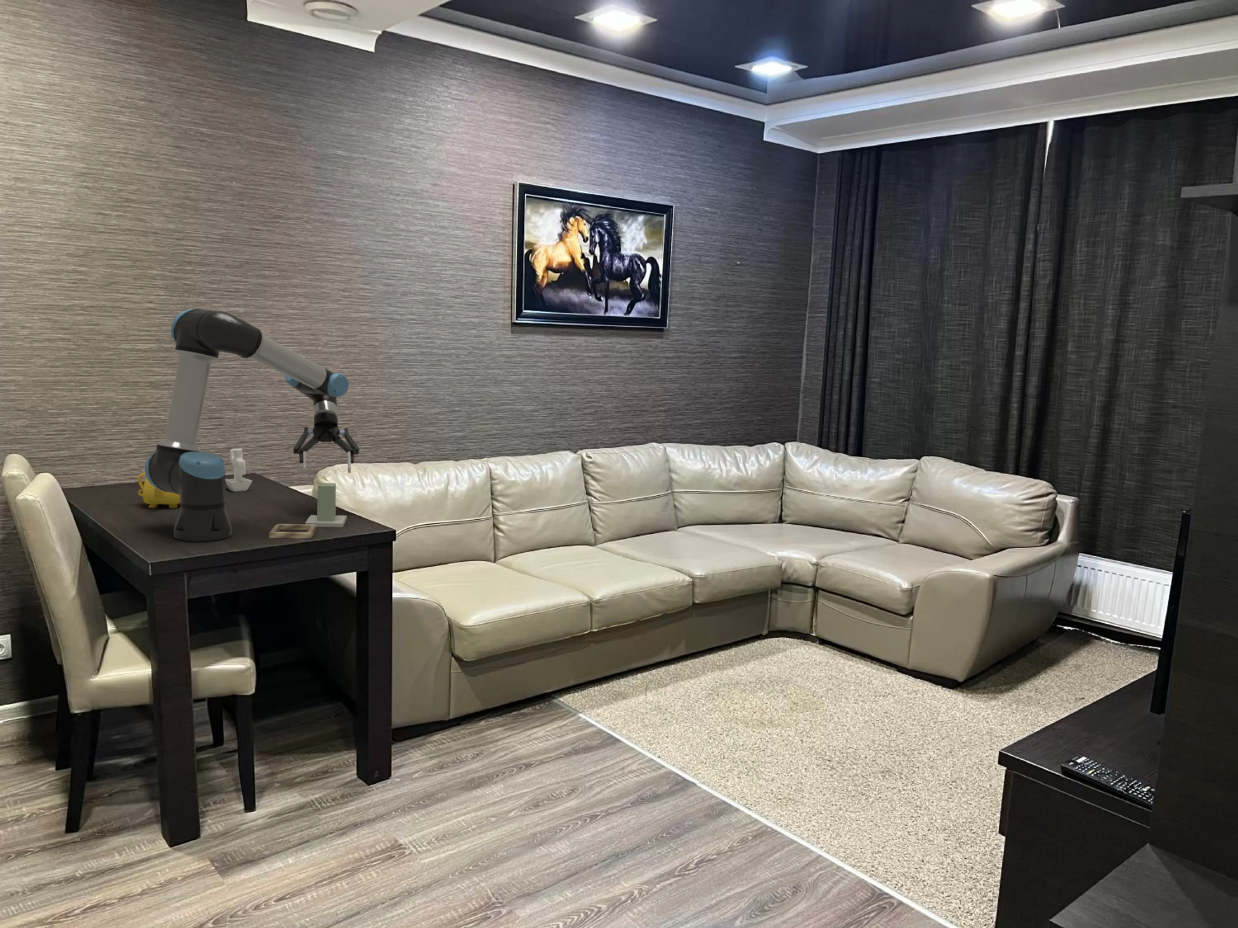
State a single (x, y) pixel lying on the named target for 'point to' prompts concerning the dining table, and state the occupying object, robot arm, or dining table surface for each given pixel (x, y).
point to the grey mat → (337, 522)
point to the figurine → (238, 472)
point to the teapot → (156, 495)
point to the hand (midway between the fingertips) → (327, 470)
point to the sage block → (326, 501)
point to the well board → (278, 527)
